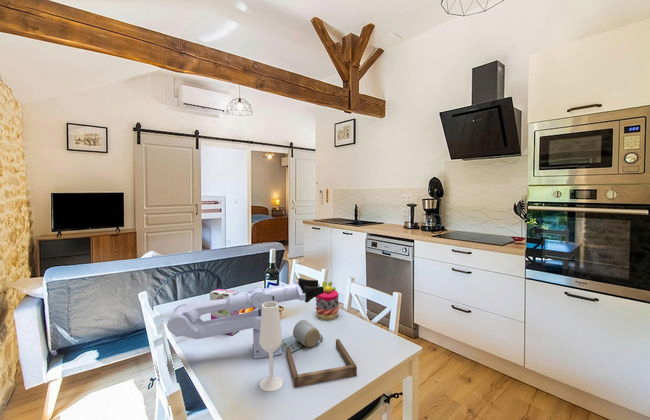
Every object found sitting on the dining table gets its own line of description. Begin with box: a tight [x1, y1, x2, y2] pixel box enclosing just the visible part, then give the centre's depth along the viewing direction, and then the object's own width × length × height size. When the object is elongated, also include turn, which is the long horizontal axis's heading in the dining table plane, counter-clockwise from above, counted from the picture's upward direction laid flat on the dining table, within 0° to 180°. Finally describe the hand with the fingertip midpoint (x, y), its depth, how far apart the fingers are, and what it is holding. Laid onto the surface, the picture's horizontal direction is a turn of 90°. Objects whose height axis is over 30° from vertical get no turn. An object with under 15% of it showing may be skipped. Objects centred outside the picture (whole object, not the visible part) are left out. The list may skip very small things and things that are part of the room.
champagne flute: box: [259, 302, 284, 392], centre depth 84 cm, size 7×7×24 cm
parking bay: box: [285, 338, 358, 388], centre depth 94 cm, size 19×17×3 cm
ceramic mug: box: [292, 319, 324, 348], centre depth 109 cm, size 11×8×8 cm
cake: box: [315, 281, 340, 321], centre depth 131 cm, size 10×11×15 cm
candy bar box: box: [209, 288, 240, 336], centre depth 117 cm, size 11×5×16 cm, turn 68°
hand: (320, 286), depth 107 cm, fingers open, 7 cm apart
